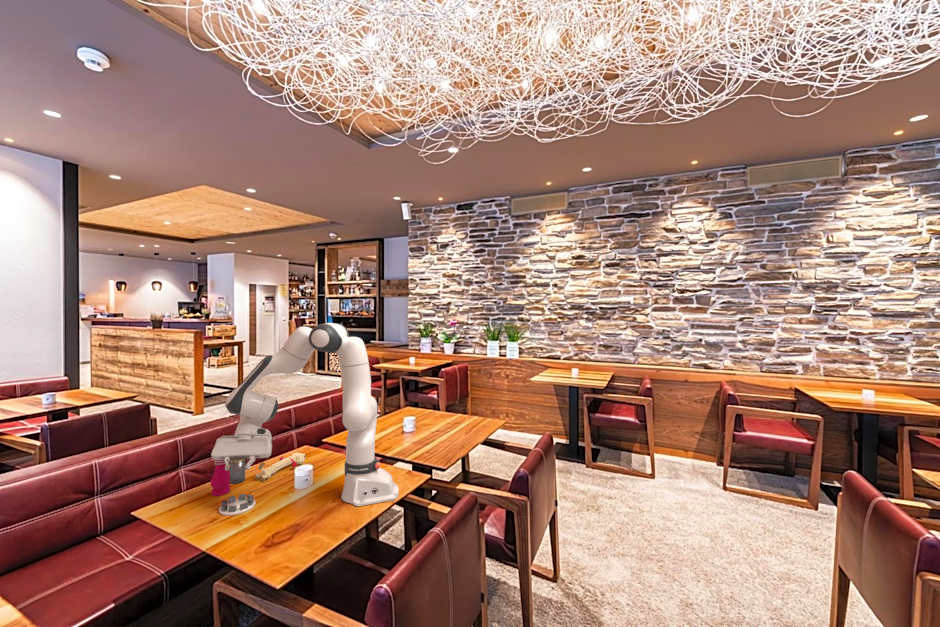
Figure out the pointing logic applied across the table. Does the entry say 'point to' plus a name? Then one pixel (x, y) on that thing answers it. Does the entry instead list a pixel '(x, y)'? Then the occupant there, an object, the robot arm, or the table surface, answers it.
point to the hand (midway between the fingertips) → (237, 469)
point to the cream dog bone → (280, 465)
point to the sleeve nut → (237, 470)
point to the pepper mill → (220, 479)
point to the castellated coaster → (237, 505)
